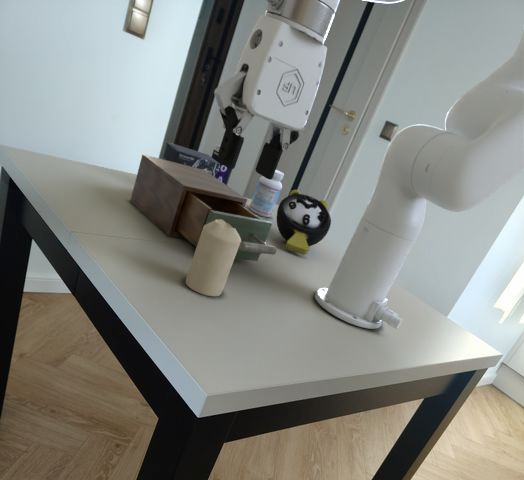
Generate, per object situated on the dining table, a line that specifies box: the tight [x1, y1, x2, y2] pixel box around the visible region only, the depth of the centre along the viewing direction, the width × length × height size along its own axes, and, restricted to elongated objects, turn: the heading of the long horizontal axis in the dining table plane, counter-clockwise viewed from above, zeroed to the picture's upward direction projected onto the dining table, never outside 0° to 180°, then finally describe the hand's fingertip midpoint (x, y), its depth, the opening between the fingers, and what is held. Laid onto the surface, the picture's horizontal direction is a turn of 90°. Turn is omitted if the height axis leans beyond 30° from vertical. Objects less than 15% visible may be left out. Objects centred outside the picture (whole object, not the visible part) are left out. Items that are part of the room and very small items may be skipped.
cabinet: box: [130, 153, 248, 239], centre depth 96 cm, size 16×14×9 cm
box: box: [161, 141, 220, 177], centre depth 111 cm, size 11×7×10 cm, turn 123°
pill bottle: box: [249, 169, 285, 218], centre depth 129 cm, size 6×6×11 cm
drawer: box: [175, 191, 277, 262], centre depth 88 cm, size 21×13×7 cm, turn 39°
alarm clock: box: [276, 189, 332, 256], centre depth 114 cm, size 12×15×15 cm
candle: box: [185, 219, 241, 297], centre depth 72 cm, size 6×6×10 cm
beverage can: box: [210, 144, 233, 186], centre depth 124 cm, size 6×6×12 cm
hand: (245, 169), depth 66 cm, fingers open, 6 cm apart
